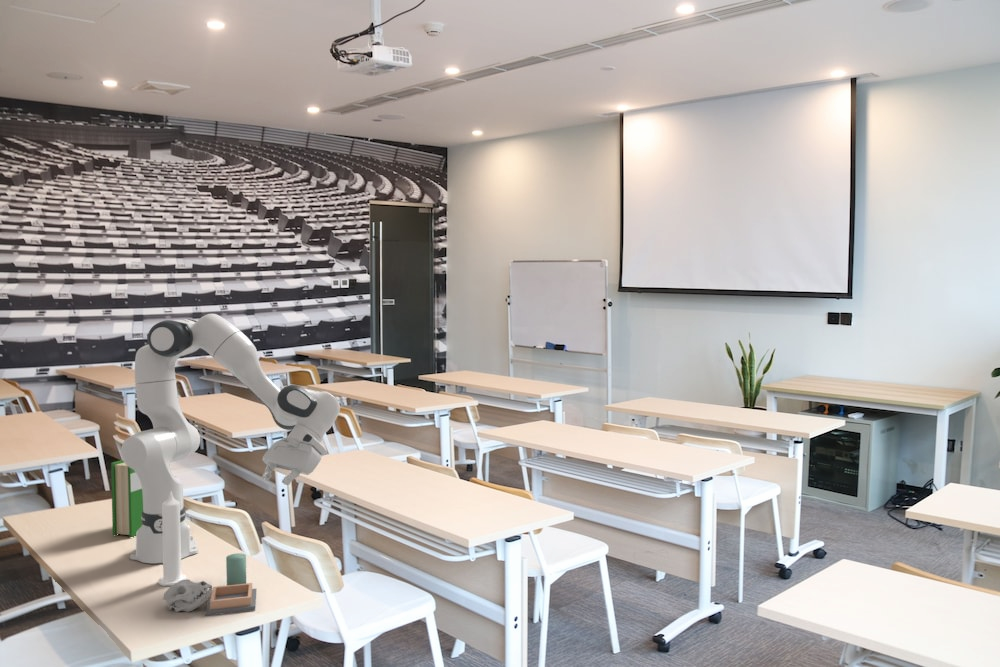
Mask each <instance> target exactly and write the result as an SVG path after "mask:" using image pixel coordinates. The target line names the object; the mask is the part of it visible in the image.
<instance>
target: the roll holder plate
mask: <svg viewBox="0 0 1000 667" xmlns="http://www.w3.org/2000/svg"><path fill="white" fill-rule="evenodd" d="M256 603H257V588H253V582H248V583H247V582H246V584H237V585H227V584H226V585H219V586H212V595H211V597H210V598H209V599H208V600H207V603H206V607H205V608H206V609H205V611H204V612H205V616H206V615H207V616H213V614H216V615H221V614H220V613H225V614H230V613H231V612H234V613H240V612H241V611H243V612H249V611H250V610H252V611H256V605H257V604H256ZM241 613H242V612H241Z"/></svg>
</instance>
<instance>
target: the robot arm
mask: <svg viewBox="0 0 1000 667" xmlns="http://www.w3.org/2000/svg"><path fill="white" fill-rule="evenodd" d="M200 350H203V351H204V352H206V353H207V354H209V356H211V358H213V359H214V360H215V361H216V362H217V363H219V364H220V366H222V367H224V369H226V370H227V371H228V372H229V373H230V374H232V375H233V376H234V377H236V378H237V380H239V381H240V382H241V383H242V384H244V385H245V387H246V388H247V389H248V390H250V392H251V393H252V394H253V395H254V396H255V397H256V398H257V399H258V400H259V401H261V402H262V404H263V405H265V407H266V408H267V409H268V410H269V412H270V414H271V417H272V419H273V421H274V423H275V425H277V427H279V428H280V429H283V430H286V431H287V430H288V431H290V433H289V434H288V435H287V437H283V438H282V439H279V440H276V441H275V442H273V444H272V445H271V446H270V447H269V448H268V449H267V451H266V452H265V453H264V455H263V456H262V459H261V460H262V461H263V463H264V464H265V470H264V472H263V474H262V476H261V477H262V479H264V480H265V481H269V480H271V478H272V472H273V471H275V469H280V470H284V471H289V472H290V473H289V474H288V475H287V476H284V477H283V479H282V480H281V483H282V484H283V485H286V486H289V485H291V482H293V481H294V480H295V479H297V478H298V477H299V476H300V474H301V475H306V476H308V475H311V473H313V472H314V470H316V468H317V466H319V463H320V462H321V460H322V458H323V456H325V455H326V454H327V452H328V449H327V448H326V447H325V446H324V445H323V443H321V442H322V440H323V439H324V436H325V435H326V433H327V432H328V431H329V430H330V429H331V428H332V426H333V425H334V423H335V421H336V420H337V418H338V416H339V415H340V411H341V404H340V402H339V400H338V399H337V397H335V395H333V394H332V393H331V392H329V391H326V390H324V391H316V390H315V391H314V390H310V389H308V388H304V387H303V386H300V385H297V384H291V385H287V386H285V387H283V388H281V389H280V388H279V387H278V386H277V385H276V384H275V383H274V382H273V381H272V380H271V379H269V377H268V376H267V375H266V373H265V372H264V370H263V368H262V366H261V363H260V358H259V354H258V351H257V348H256V346H255V344H254V343H253V342H252V341H251V339H250V338H249V337H248V336H247V335H245V334H244V332H243V331H242V330H240V329H239V328H238V327H237V326H235V325H234V324H233V323H231V321H229V320H227V319H225V317H222V316H220V315H218V314H217V313H207V314H205V315H203V316H202V317H200V318H199V319H198V320H194V319H191V318H187V319H186V318H174V319H168V320H167V319H166V320H162V321H159V322H157V323H156V324H154V325H153V326H152V327H151V328H150V329H149V331H148V335H147V344H146V345H143V346H142V347H140V348H138V350H137V351H136V353H135V357H134V358H135V360H134V383H135V384H134V385H135V393H136V394H135V395H136V402H137V409H138V410H139V412H141V413H142V414H144V415H146V416H147V417H148V418H149V419H150V421H151V423H152V428H150V429H147V430H141V431H139V432H136V433H135V434H133V435H131V436H128V437H126V438H125V439H124V440H123V442H122V444H121V447H120V456H121V460H123V461H124V463H125V464H126V465H127V466H128V467H130V468H131V469H133V470H134V471H135V472H136V474H137V475H138V477H139V479H140V482H141V486H142V494H143V511H142V515H141V519H142V524H143V525H142V526H141V528H139V529H138V531H137V533H136V537H135V538H136V540H135V543H136V544H135V550H134V551H133V552H132V553H131V554H130V555H129V559H130V560H133V561H138V562H141V563H143V564H163V530H162V504H163V503H164V502H165V501H166V500H168V497H169V493H170V491H171V492H172V494H173V497H174V499H175V500H177V501H179V502H180V529H181V560H182V559H184V558H186V557H189V556H193V555H196V554H198V553H199V548H198V546H197V542H196V539H195V537H194V536H193V535H191V526H190V525H189V523H188V522H187V521H186V519H187V518H186V508H185V506H184V484H183V481H182V479H180V478H179V477H178V476H175V475H174V474H173V472H172V470H171V465H170V464H171V463H172V462H175V461H179V460H183V459H185V458H187V457H189V456H190V455H192V454H194V453H195V452H196V451H197V450H198V449H199V447H200V444H201V436H200V435H201V434H200V433H199V431H198V430H197V427H196V426H194V425H192V424H191V423H190V422H189V421H188V420H187V418H186V417H185V415H184V413H183V411H182V408H181V405H180V401H179V396H178V395H179V394H178V387H177V378H176V371H175V369H176V368H175V366H176V361H177V360H178V359H184V358H186V357H188V356H191V355H193V354H195V353H197V352H199V351H200Z"/></svg>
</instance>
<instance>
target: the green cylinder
mask: <svg viewBox="0 0 1000 667" xmlns="http://www.w3.org/2000/svg"><path fill="white" fill-rule="evenodd" d="M225 559H226V560H225V561H226V562H225V563H226V567H225V568H226V586H227V585H237V584H247V556H246V554H245V553H231V554H229V555H227V556H226V557H225Z"/></svg>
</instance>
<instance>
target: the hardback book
mask: <svg viewBox="0 0 1000 667" xmlns="http://www.w3.org/2000/svg"><path fill="white" fill-rule="evenodd" d="M110 478H111V515H112V516H111V518H112V536H113V535H117V534H120V535H127V536H129V537H133V538H135V537H134V536H136V533H137V531H138V529H139V528H141V526H142V525H143V524H142V519H141V515H142V511H143V494H142V486H141V482H140V479H139V477H138V475H137V474H136V472H135V471H134V470H133V469H131V468H130V467H128V466H127V465H126V464H125V463H124V461H123V459H121V460H117V461H114V462H111V463H110ZM117 536H118V535H117Z"/></svg>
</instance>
